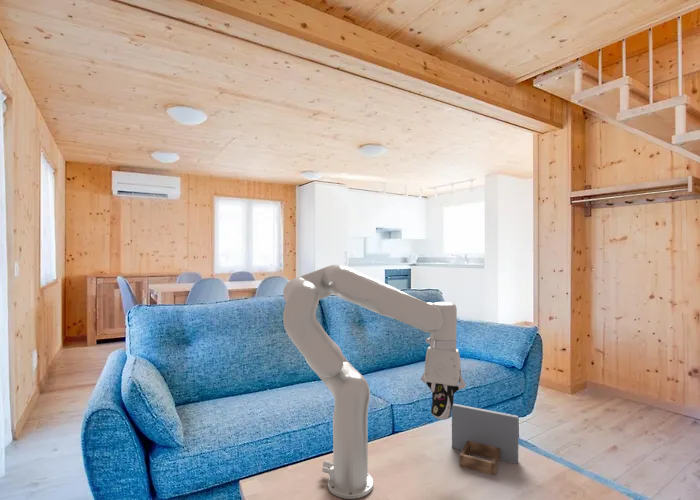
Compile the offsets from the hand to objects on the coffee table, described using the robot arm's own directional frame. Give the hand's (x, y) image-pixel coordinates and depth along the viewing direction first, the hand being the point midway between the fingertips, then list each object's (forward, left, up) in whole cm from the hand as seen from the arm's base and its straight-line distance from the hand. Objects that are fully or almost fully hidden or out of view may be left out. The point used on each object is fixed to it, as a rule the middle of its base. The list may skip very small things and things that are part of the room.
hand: (442, 405), depth 118 cm
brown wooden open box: (+9, +8, -19) cm, 22 cm away
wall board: (+9, +14, -19) cm, 25 cm away
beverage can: (-1, 0, -4) cm, 4 cm away
